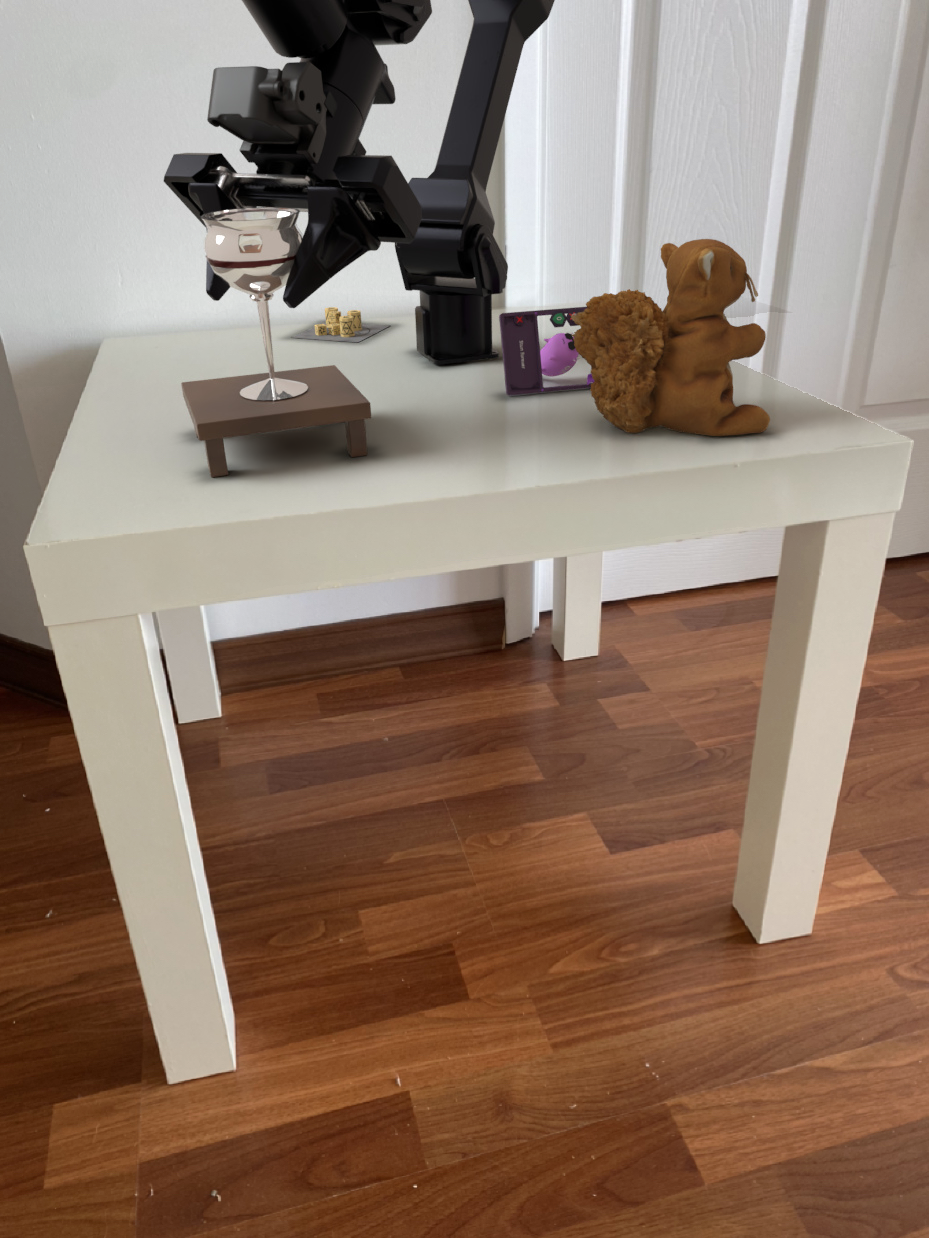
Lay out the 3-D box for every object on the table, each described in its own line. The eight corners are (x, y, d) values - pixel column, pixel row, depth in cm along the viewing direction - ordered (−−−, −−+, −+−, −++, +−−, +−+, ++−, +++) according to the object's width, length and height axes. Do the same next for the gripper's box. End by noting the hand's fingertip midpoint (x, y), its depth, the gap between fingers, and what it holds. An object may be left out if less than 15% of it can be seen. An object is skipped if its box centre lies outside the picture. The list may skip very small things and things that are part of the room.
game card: (502, 312, 79) (604, 304, 81) (486, 321, 84) (583, 313, 86) (510, 395, 80) (610, 385, 82) (494, 399, 85) (589, 389, 87)
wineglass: (339, 387, 70) (322, 211, 64) (263, 410, 66) (237, 224, 60) (283, 371, 74) (262, 204, 68) (208, 392, 70) (179, 216, 64)
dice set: (330, 324, 106) (328, 307, 106) (371, 327, 105) (369, 309, 104) (307, 335, 102) (305, 316, 101) (350, 338, 101) (348, 319, 100)
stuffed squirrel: (779, 433, 71) (806, 246, 65) (599, 451, 69) (608, 259, 62) (720, 396, 80) (739, 227, 73) (559, 410, 77) (563, 237, 71)
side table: (339, 413, 78) (334, 364, 76) (374, 456, 69) (370, 402, 67) (189, 432, 75) (180, 382, 73) (205, 480, 66) (196, 424, 64)
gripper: (156, 22, 65) (68, 218, 62) (388, 7, 57) (299, 231, 55) (247, 141, 75) (174, 315, 72) (455, 143, 67) (382, 338, 65)
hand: (248, 300), depth 66 cm, fingers closed on wineglass, 6 cm apart
